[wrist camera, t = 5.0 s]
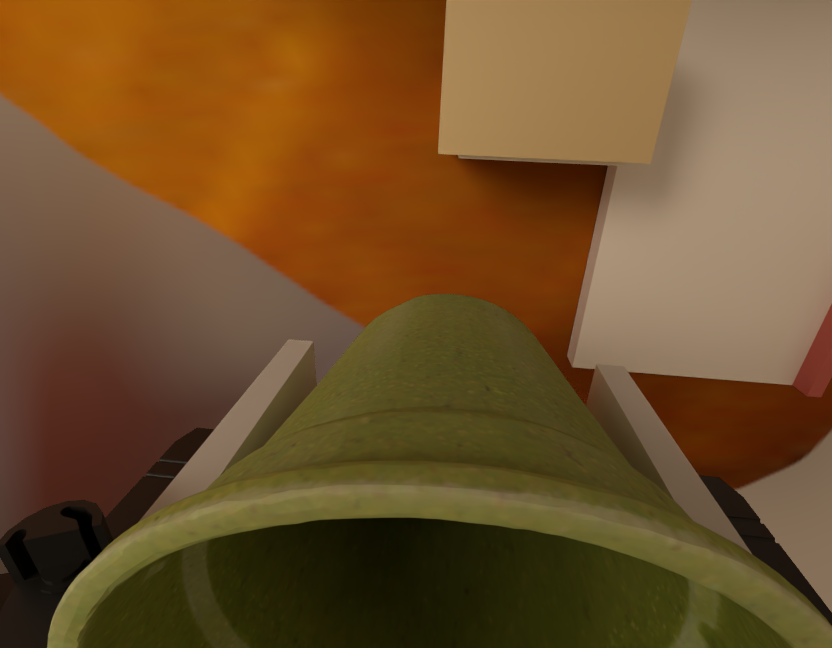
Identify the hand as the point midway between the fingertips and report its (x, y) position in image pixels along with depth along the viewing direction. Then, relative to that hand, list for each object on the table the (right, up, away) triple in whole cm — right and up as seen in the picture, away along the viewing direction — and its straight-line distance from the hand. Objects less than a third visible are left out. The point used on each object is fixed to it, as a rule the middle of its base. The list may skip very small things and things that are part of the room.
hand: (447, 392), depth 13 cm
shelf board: (+17, +10, +10) cm, 22 cm away
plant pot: (0, 0, 0) cm, 1 cm away
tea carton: (+5, +14, +10) cm, 18 cm away
